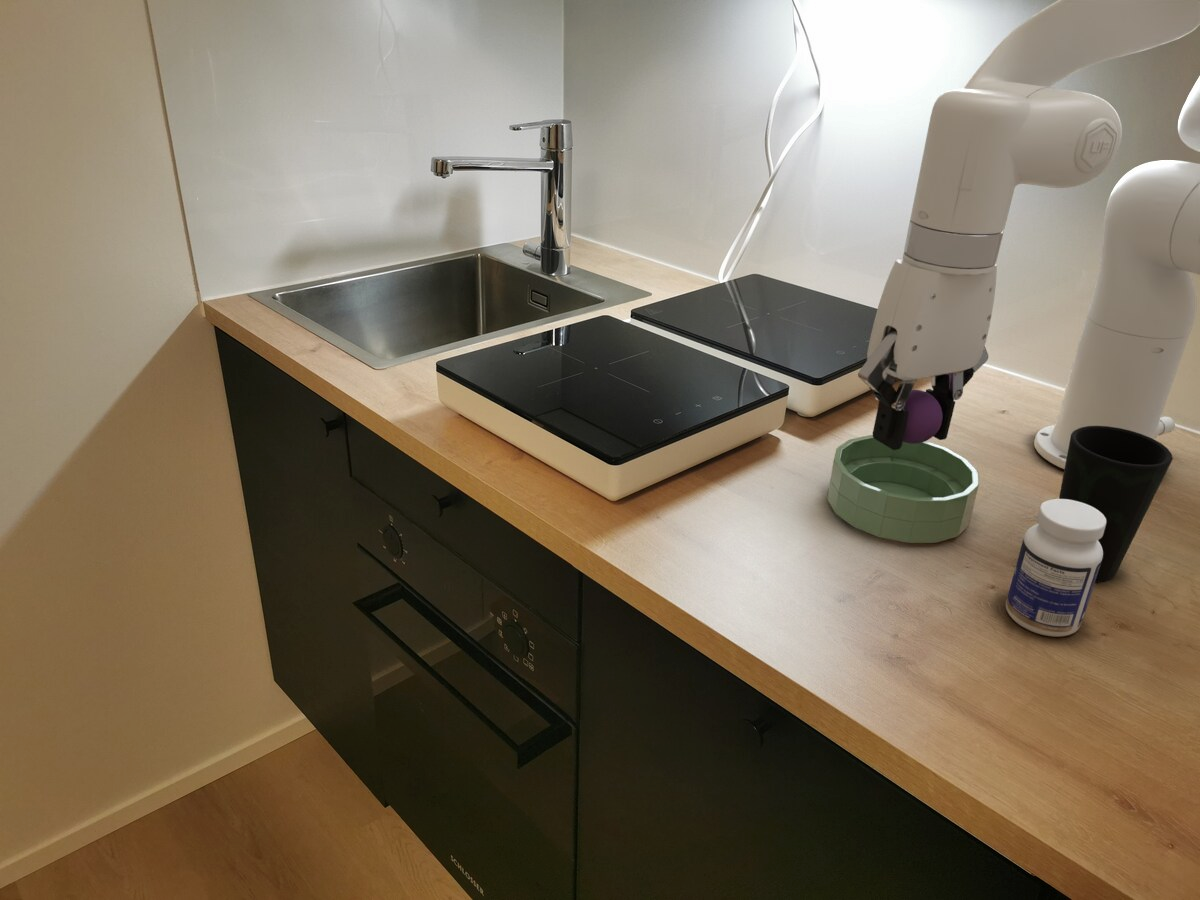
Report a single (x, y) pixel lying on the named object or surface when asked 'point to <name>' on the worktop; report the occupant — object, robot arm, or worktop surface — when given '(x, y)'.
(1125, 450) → the cup
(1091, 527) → the pill bottle
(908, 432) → the ball
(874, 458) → the bowl
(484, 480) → the worktop surface
